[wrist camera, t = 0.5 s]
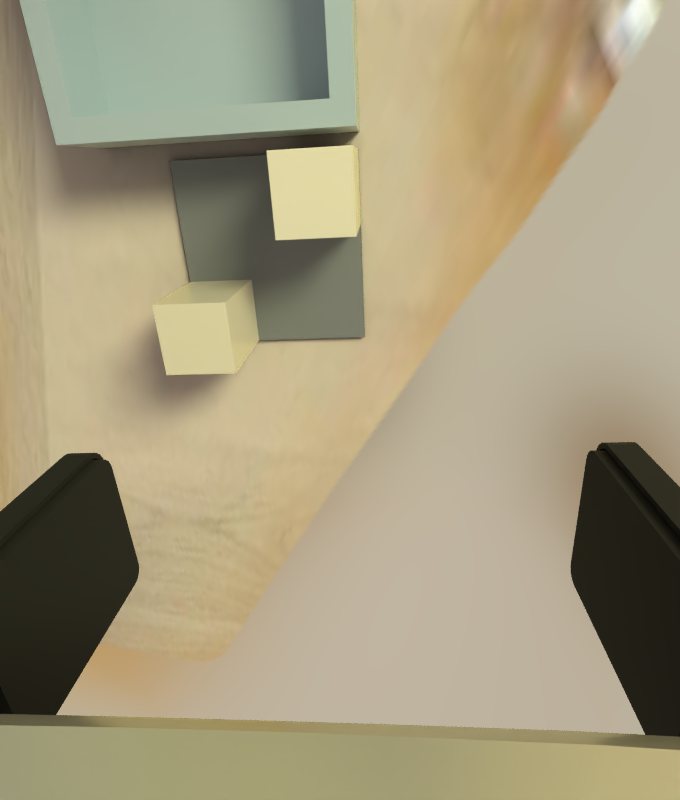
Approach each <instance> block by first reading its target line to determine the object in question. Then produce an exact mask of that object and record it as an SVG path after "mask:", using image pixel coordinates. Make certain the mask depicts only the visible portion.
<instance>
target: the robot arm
mask: <svg viewBox="0 0 680 800" xmlns="http://www.w3.org/2000/svg"><path fill="white" fill-rule="evenodd" d="M138 574H139V564H138V560H137V556H136V553H135V549H134V546H133V542H132V538H131V535H130V531H129V528H128V524H127V520H126V517H125V513H124V510H123V506H122V502H121V499H120V495H119V492H118V488H117V484H116V481H115V477H114V474H113V470H112V467H111V464H110V463H109V461H107V460H103V458H102V457H101V455H100V454H98V453H71V454H66V455H65V456H63V457H62V458H61V459H60V460H59V461H58V462H56V463H55V464H54V465H53V466H52V467H51V468H50V469H48V470H47V471H46V472H45V473H44V474H43V475H42V476H40V477H39V478H38V479H37V480H36V481H35V482H34V483H32V484H31V485H30V486H29V487H28V488H27V489H26V490H24V491H23V492H22V493H21V494H20V495H19V496H18V497H16V498H15V499H14V500H13V501H12V502H11V503H10V504H8V505H7V506H6V507H5V508H4V509H3V510H2V511H0V800H680V487H679V486H678V485H677V484H676V483H675V482H674V481H673V480H672V479H671V478H670V477H669V476H668V475H667V474H666V473H665V471H663V469H662V468H661V467H660V466H659V465H658V464H656V462H655V461H654V460H653V459H652V458H651V457H650V456H649V455H648V454H647V453H646V452H645V451H644V450H643V449H642V448H641V447H640V446H639V445H638V444H637V443H635V442H619V443H601V444H599V446H598V448H597V450H596V451H590V452H589V453H588V455H587V459H586V465H585V472H584V479H583V486H582V493H581V499H580V506H579V512H578V520H577V526H576V533H575V539H574V546H573V554H572V560H571V575H572V580H573V583H574V586H575V588H576V590H577V592H578V594H579V596H580V599H581V600H582V602H583V605H584V607H585V609H586V611H587V613H588V615H589V617H590V619H591V622H592V624H593V626H594V628H595V630H596V632H597V634H598V636H599V638H600V640H601V643H602V645H603V647H604V649H605V651H606V653H607V655H608V657H609V659H610V661H611V664H612V665H613V668H614V670H615V672H616V674H617V676H618V678H619V680H620V682H621V684H622V687H623V688H624V691H625V693H626V695H627V697H628V699H629V701H630V703H631V705H632V707H633V710H634V712H635V714H636V716H637V718H638V720H639V722H640V724H641V726H642V728H643V731H644V732H645V735H637V734H617V733H598V732H580V731H558V730H529V729H528V730H527V729H501V728H473V727H444V726H417V725H416V726H415V725H389V724H388V725H387V724H357V723H325V722H292V721H291V722H290V721H259V720H224V719H223V720H222V719H188V718H152V717H110V716H108V717H107V716H67V715H65V716H64V715H56V714H57V712H58V711H59V709H60V707H61V706H62V704H63V702H64V701H65V699H66V697H67V696H68V694H69V692H70V691H71V689H72V687H73V686H74V684H75V683H76V681H77V679H78V677H79V676H80V674H81V673H82V671H83V669H84V668H85V666H86V664H87V663H88V661H89V659H90V658H91V656H92V654H93V653H94V651H95V649H96V648H97V646H98V645H99V643H100V641H101V640H102V638H103V636H104V635H105V633H106V631H107V630H108V628H109V626H110V625H111V623H112V621H113V620H114V618H115V616H116V615H117V613H118V611H119V610H120V608H121V607H122V605H123V603H124V602H125V600H126V598H127V597H128V595H129V593H130V592H131V590H132V588H133V587H134V585H135V583H136V581H137V578H138Z"/></svg>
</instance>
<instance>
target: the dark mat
mask: <svg viewBox="0 0 680 800" xmlns="http://www.w3.org/2000/svg"><path fill="white" fill-rule="evenodd" d="M358 162H359V156H358ZM169 163H170V169H171V175H172V180H173V186H174V192H175V197H176V203H177V209H178V215H179V220H180V226H181V232H182V238H183V243H184V249H185V255H186V261H187V266H188V272H189V278H190V282H202V281H227V280H252V287H253V295H254V303H255V311H256V319H257V327H258V335H259V340H282V339H316V338H350V337H365V330H364V301H363V272H362V243H361V225H360V227H359V230H358V233H357V236H356V237H337V238H315V239H294V240H275V230H274V220H273V210H272V200H271V190H270V181H269V171H268V161H267V155H258V156H242V157H226V158H209V159H193V160H177V161H169ZM359 191H360V185H359ZM360 220H361V214H360Z"/></svg>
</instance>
